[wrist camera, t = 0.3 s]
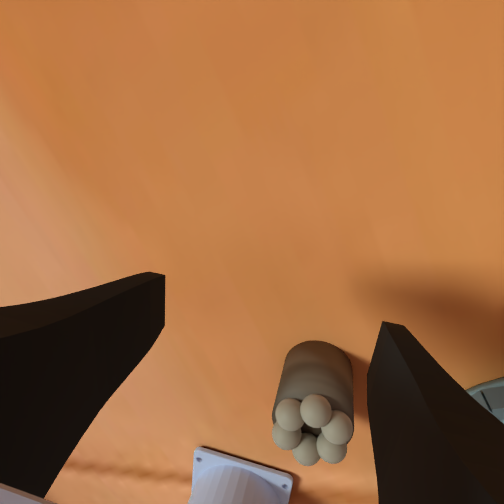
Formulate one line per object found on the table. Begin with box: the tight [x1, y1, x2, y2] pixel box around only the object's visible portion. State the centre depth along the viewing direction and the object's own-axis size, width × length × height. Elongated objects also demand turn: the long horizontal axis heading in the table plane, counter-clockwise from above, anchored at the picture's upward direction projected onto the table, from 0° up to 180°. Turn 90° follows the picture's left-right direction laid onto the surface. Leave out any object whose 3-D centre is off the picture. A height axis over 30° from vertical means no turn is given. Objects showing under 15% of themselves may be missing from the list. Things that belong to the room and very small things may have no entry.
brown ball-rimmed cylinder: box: [272, 341, 354, 466], centre depth 21 cm, size 4×4×6 cm
